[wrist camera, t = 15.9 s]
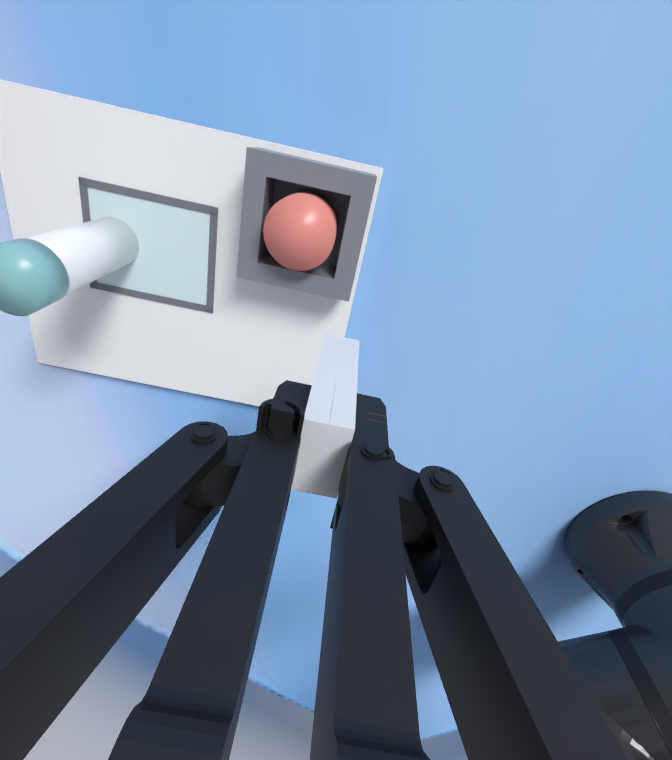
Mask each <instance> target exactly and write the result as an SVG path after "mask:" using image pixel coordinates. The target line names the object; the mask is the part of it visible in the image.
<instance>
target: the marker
mask: <svg viewBox="0 0 672 760" xmlns="http://www.w3.org/2000/svg"><path fill="white" fill-rule="evenodd" d="M138 252H139V243H138V239H137V237H136V235H135V233H134V231H133V230H132V229H131V227H130V226H129V225H128V224H126V223H125V222H124V221H122V220H120V219H118V218H115V217H110V216H108V217H102V218H99V219H95V220H91V221H88V222H84V223H80V224H77V225H73V226H69V227H66V228H62V229H58V230H55V231H51V232H47V233H44V234H40V235H37V236H33V237H29V238H20V239H15V240H11V241H8V242H4V243H0V310H1V311H3V312H5V313H8V314H11V315H16V316H27V315H30V314H33V313H35V312H37V311H39V310H41V309H43V308H45V307H47V306H49V305H51V304H53V303H54V302H56V301H58V300H60V299H62V298H63V297H64V296H65V295H67V294H69V293H71V292H73V291H75V290H77V289H79V288H81V287H83V286H85V285H87V284H89V283H91V282H93V281H95V280H97V279H99V278H101V277H103V276H105V275H107V274H109V273H111V272H113V271H115V270H117V269H119V268H121V267H123V266H125V265H127V264H129V263H131V262H133V261H134V260H135V259H136V257H137V255H138Z"/></svg>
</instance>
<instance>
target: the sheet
mask: <svg viewBox="0 0 672 760" xmlns="http://www.w3.org/2000/svg"><path fill="white" fill-rule="evenodd" d="M247 147H258V148H264V149H268V150H272V151H277V152H281V153H285V154H290V155H294V156H298V157H303V158H307V159H311V160H316V161H320V162H324V163H329V164H333V165H337V166H342V167H346V168H350V169H355V170H359V171H363V172H368V173H372V174H376V176H377V180H376V185H375V189H374V193H373V198H372V202H371V207H370V211H369V215H368V220H367V224H366V229H365V233H364V238H363V242H362V246H361V251H360V255H359V260H358V264H357V268H356V273H355V277H354V282H353V286H352V290H351V295H350V299H349V301H344V300H339V299H335V298H330V297H325V296H321V295H316V294H311V293H307V292H302V291H297V290H293V289H288V288H283V287H279V286H274V285H269V284H265V283H260V282H255V281H251V280H246V279H241V278H237V265H238V252H239V239H240V226H241V213H242V200H243V187H244V174H245V161H246V149H247ZM0 172H1V177H2V183H3V188H4V193H5V198H6V203H7V208H8V213H9V218H10V224H11V229H12V234H13V239H14V240H15V239H20V238H29V237H33V236H37V235H40V234H44V233H47V232H51V231H55V230H58V229H62V228H66V227H69V226H73V225H77V224H80V223H84V222H88V221H91V220H95V219H99V218H102V217H108V216H110V217H115V218H118V219H120V220H122V221H124V222H125V223H126V224H128V225H129V226H130V227H131V229H132V230H133V231H134V233H135V235H136V237H137V239H138V243H139V252H138V255H137V257H136V259H135V260H134V261H133V262H131V263H129V264H127V265H125V266H123V267H121V268H119V269H117V270H115V271H113V272H111V273H109V274H107V275H105V276H103V277H101V278H99V279H97V280H95V281H93V282H91V283H89V284H87V285H85V286H83V287H81V288H79V289H77V290H75V291H73V292H71V293H69V294H67V295H65V296H64V297H63V298H62V299H60V300H58V301H56V302H54V303H53V304H51V305H49V306H47V307H45V308H43V309H41V310H39V311H37V312H35V313H33V314H30V315H28V316H29V321H30V326H31V331H32V336H33V341H34V347H35V352H36V357H37V362H38V363H43V364H48V365H53V366H58V367H63V368H68V369H73V370H78V371H84V372H89V373H94V374H99V375H104V376H109V377H114V378H119V379H124V380H129V381H134V382H139V383H144V384H149V385H154V386H159V387H164V388H169V389H174V390H179V391H184V392H189V393H194V394H199V395H204V396H209V397H214V398H219V399H224V400H229V401H235V402H240V403H245V404H250V405H255V406H260V405H261V403H262V402H264V401H266V400H268V399H273V398H274V395H275V393H276V390H277V388H278V386H279V385H280V384H282V383H283V382H285V381H286V380H288V381H293V382H298V383H303V384H308V385H312V383H313V379H314V375H315V371H316V367H317V363H318V359H319V356H320V352H321V348H322V344H323V340H324V336H325V333H326V334H330V335H335V336H340V337H345V333H346V328H347V324H348V320H349V315H350V311H351V307H352V302H353V298H354V294H355V289H356V285H357V281H358V277H359V272H360V268H361V264H362V259H363V255H364V251H365V246H366V242H367V238H368V233H369V229H370V225H371V220H372V216H373V212H374V207H375V203H376V199H377V194H378V190H379V186H380V181H381V177H382V173H383V168H380V167H376V166H372V165H368V164H363V163H359V162H355V161H350V160H346V159H342V158H337V157H333V156H329V155H324V154H320V153H316V152H311V151H307V150H303V149H299V148H294V147H290V146H286V145H281V144H277V143H273V142H268V141H264V140H260V139H255V138H251V137H247V136H243V135H238V134H234V133H230V132H225V131H221V130H217V129H212V128H208V127H204V126H199V125H195V124H191V123H187V122H182V121H178V120H174V119H169V118H165V117H161V116H156V115H152V114H148V113H143V112H139V111H135V110H131V109H126V108H122V107H118V106H113V105H109V104H105V103H100V102H96V101H92V100H87V99H83V98H79V97H75V96H70V95H66V94H62V93H57V92H53V91H49V90H44V89H40V88H36V87H31V86H27V85H23V84H19V83H14V82H10V81H6V80H1V79H0Z"/></svg>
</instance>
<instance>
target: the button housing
mask: <svg viewBox="0 0 672 760" xmlns="http://www.w3.org/2000/svg"><path fill="white" fill-rule="evenodd" d="M376 180H377V176H376V174H372V173H368V172H363V171H359V170H355V169H350V168H346V167H342V166H337V165H333V164H329V163H324V162H320V161H316V160H311V159H307V158H303V157H298V156H294V155H290V154H285V153H281V152H277V151H272V150H268V149H264V148H258V147H247V149H246V161H245V174H244V187H243V200H242V213H241V226H240V239H239V252H238V265H237V278H241V279H246V280H251V281H255V282H260V283H265V284H269V285H274V286H279V287H283V288H288V289H293V290H297V291H302V292H307V293H311V294H316V295H321V296H325V297H330V298H335V299H339V300H344V301H349V299H350V295H351V290H352V286H353V282H354V277H355V273H356V268H357V264H358V260H359V255H360V251H361V246H362V242H363V238H364V233H365V229H366V224H367V220H368V215H369V211H370V207H371V202H372V198H373V193H374V189H375V185H376ZM300 190H310V191H314V192H317V193H319V194H321V195H323V196H324V197H325V198H326V199H328V201H329V202H330V203H331V204H332V206H333V207H334V209H335V212H336V214H337V218H338V232H337V235H336V239H335V242H334V245H333V248H332V251H331V253H330V255H329V256H328V257H327V259H326V260H325V261H324V262H323V263H322V264H320V265H319V266H317V267H316V268H313V269H310V270H305V271H297V270H292V269H289V268H286V267H284V266H283V265H281V264H280V263H278V262H277V261H276V260H275V259H274V258H273V257H272V255H271V254H270V252H269V251H268V249H267V247H266V244H265V241H264V234H263V227H264V222H265V218H266V216H267V214H268V212H269V210H270V209H271V208H272V206H273V205H274V204H276V203H277V202H278V201H280V200H281V199H283V198H285V197H286V196H288V195H290V194H291V193H294V192H296V191H300Z"/></svg>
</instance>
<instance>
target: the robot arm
mask: <svg viewBox="0 0 672 760" xmlns="http://www.w3.org/2000/svg"><path fill="white" fill-rule="evenodd" d="M358 358H359V340H354V339H350V338H345V337H340V336H335V335H330V334H326V333H325V336H324V340H323V344H322V348H321V352H320V356H319V359H318V363H317V367H316V371H315V375H314V379H313V383H312V385H308V384H303V383H298V382H293V381H288V380H286V381H285V382H283V383H282V384H280V385H279V386H278V388H277V390H276V393H275V395H274V398H273V399H268V400H266V401H264V402H262V403H261V405H260V406H259V411H258V420H257V428H256V431H255V432H253V433H251V434H247V435H240V436H228V434H227V431H226V430H225V429H224V427H222V426H220V425H218V424H216V423H212V422H195V423H191V424H189V425H187V426H185V427H183V428H182V429H181V430H179V431H178V432H177V433H176V434H175V435H173V436H172V437H171V438H170V439H169V440H167V441H166V442H165V443H164V444H162V445H161V446H160V447H159V448H158V449H156V450H155V451H154V452H153V453H151V454H150V455H149V456H148V457H147V458H145V459H144V460H143V461H142V462H140V463H139V464H138V465H137V466H136V467H134V468H133V469H132V470H131V471H130V472H128V473H127V474H126V475H125V476H123V477H122V478H121V479H120V480H119V481H117V482H116V483H115V484H114V485H112V486H111V487H110V488H109V489H108V490H106V491H105V492H104V493H103V494H101V495H100V496H99V497H98V498H97V499H95V500H94V501H93V502H92V503H91V504H89V505H88V506H87V507H86V508H84V509H83V510H82V511H81V512H80V513H78V514H77V515H76V516H75V517H73V518H72V519H71V520H70V521H69V522H67V523H66V524H65V525H64V526H63V527H61V528H60V529H59V530H58V531H56V532H55V533H54V534H53V535H52V536H50V537H49V538H48V539H47V540H45V541H44V542H43V543H42V544H41V545H39V546H38V547H37V548H36V549H34V550H33V551H32V552H31V553H30V554H28V555H27V556H26V557H25V558H24V559H22V560H21V561H20V562H19V563H17V564H16V565H15V566H14V567H13V568H11V569H10V570H9V571H8V572H7V573H5V574H4V575H3V576H2V577H0V760H23V759H24V758H25V757H26V755H27V754H28V753H29V751H30V750H31V749H32V748H33V746H34V745H35V744H36V743H37V741H38V740H39V739H40V737H41V736H42V735H43V734H44V733H45V731H46V730H47V729H48V727H49V726H50V725H51V724H52V722H53V721H54V720H55V719H56V717H57V716H58V715H59V714H60V712H61V711H62V710H63V708H64V707H65V706H66V705H67V703H68V702H69V701H70V700H71V698H72V697H73V696H74V695H75V693H76V692H77V691H78V689H79V688H80V687H81V686H82V684H83V683H84V682H85V681H86V679H87V678H88V677H89V676H90V674H91V673H92V672H93V670H94V669H95V668H96V667H97V665H98V664H99V663H100V662H101V660H102V659H103V658H104V657H105V655H106V654H107V653H108V651H109V650H110V649H111V647H112V646H113V645H114V644H115V643H116V641H117V640H118V639H119V638H120V636H121V635H122V634H123V633H124V631H125V630H126V629H127V628H128V626H129V625H130V624H131V622H132V621H133V620H134V619H135V617H136V616H137V615H138V614H139V612H140V611H141V610H142V609H143V607H144V606H145V605H146V603H147V602H148V601H149V600H150V598H151V597H152V596H153V595H154V593H155V592H156V591H157V590H158V588H159V587H160V586H161V585H162V583H163V582H164V581H165V579H166V578H167V577H168V576H169V574H170V573H171V572H172V571H173V569H174V568H175V567H176V566H177V564H178V563H179V562H180V560H181V559H182V558H183V557H184V555H185V554H186V553H187V552H188V550H189V549H190V548H191V547H192V545H193V544H194V543H195V542H196V540H197V539H198V538H199V536H200V535H201V534H202V533H203V531H204V530H205V529H206V528H207V526H208V525H209V524H210V523H211V521H212V520H213V519H214V517H215V516H216V515H217V514H218V512H219V511H220V509H221V507H222V506H224V508H223V511H222V513H221V516H220V518H219V520H218V523H217V525H216V528H215V530H214V532H213V535H212V537H211V540H210V542H209V544H208V547H207V549H206V552H205V554H204V556H203V559H202V561H201V564H200V566H199V568H198V571H197V573H196V576H195V578H194V580H193V583H192V585H191V588H190V590H189V592H188V595H187V597H186V600H185V602H184V604H183V607H182V609H181V612H180V614H179V617H178V619H177V621H176V624H175V626H174V629H173V631H172V633H171V636H170V638H169V641H168V643H167V645H166V648H165V650H164V653H163V655H162V657H161V660H160V662H159V665H158V667H157V670H156V672H155V674H154V677H153V679H152V681H151V684H150V686H149V689H148V691H147V693H146V695H145V696H144V698H143V700H142V701H141V702H140V703H139V704H138V705H137V706H135V707H134V708H133V710H132V711H131V713H130V715H129V717H128V718H127V719H126V721H125V724H124V726H123V728H122V730H121V732H120V734H119V737H118V738H117V740H116V743H115V745H114V747H113V750H112V752H111V754H110V757H109V759H108V760H229V757H230V752H231V748H232V744H233V739H234V735H235V731H236V726H237V722H238V718H239V713H240V709H241V704H242V701H243V696H244V692H245V687H246V683H247V679H248V675H249V670H250V666H251V662H252V657H253V653H254V649H255V644H256V640H257V636H258V631H259V627H260V623H261V619H262V614H263V610H264V606H265V601H266V597H267V593H268V588H269V584H270V580H271V575H272V571H273V567H274V562H275V558H276V554H277V549H278V545H279V541H280V536H281V532H282V528H283V524H284V519H285V515H286V511H287V506H288V502H289V497H290V491H291V489H292V490H297V491H302V492H307V493H312V494H317V495H322V496H327V497H332V498H337V495H338V500H337V504H336V508H335V511H334V515H333V519H332V523H331V526H330V528H332V529H333V532H332V542H331V552H330V562H329V572H328V582H327V592H326V602H325V612H324V622H323V632H322V642H321V652H320V662H319V672H318V682H317V692H316V702H315V712H314V722H313V732H312V742H311V753H310V760H430V759H429V757H428V756H427V755H426V754H425V752H424V751H423V749H422V745H421V741H420V734H419V723H418V712H417V701H416V689H415V678H414V667H413V655H412V644H411V632H410V621H409V610H408V598H407V587H406V576H407V579H408V582H409V585H410V588H411V591H412V594H413V597H414V600H415V603H416V606H417V609H418V612H419V615H420V618H421V621H422V624H423V627H424V630H425V633H426V636H427V639H428V642H429V645H430V648H431V651H432V653H433V656H434V659H435V662H436V665H437V668H438V671H439V674H440V677H441V680H442V683H443V686H444V689H445V692H446V695H447V698H448V701H449V704H450V707H451V710H452V713H453V716H454V719H455V722H456V725H457V728H458V731H459V734H460V736H461V739H462V742H463V745H464V748H465V751H466V754H467V757H468V760H672V494H670V493H666V492H659V491H637V492H630V493H625V494H621V495H617V496H614V497H611V498H608V499H606V500H603V501H601V502H599V503H597V504H595V505H593V506H591V507H590V508H588V509H587V510H585V511H584V512H583V513H581V514H580V515H579V516H578V517H577V518H576V519H575V520H574V521H573V522H572V524H571V525H570V527H569V528H568V530H567V532H566V535H565V538H564V549H565V552H566V554H567V556H568V558H569V560H570V562H571V564H572V566H573V568H574V569H575V571H576V572H577V573H578V574H579V575H580V577H581V578H582V579H584V580H585V581H586V582H587V583H588V584H589V585H590V587H591V588H592V589H593V590H594V591H595V592H596V593H597V594H598V595H599V596H600V597H601V598H602V599H603V600H604V601H605V602H606V603H607V604H608V605H609V606H610V607H611V608H612V609H613V611H614V612H615V614H616V616H617V617H618V619H619V621H620V623H621V625H622V626H623V628H619V629H615V630H611V631H606V632H601V633H597V634H592V635H587V636H583V637H578V638H573V639H568V640H563V641H559V642H558V641H557V640H556V638H555V636H554V635H553V633H552V631H551V630H550V628H549V626H548V625H547V623H546V621H545V619H544V618H543V616H542V614H541V613H540V611H539V609H538V608H537V606H536V604H535V603H534V601H533V599H532V598H531V596H530V594H529V593H528V591H527V589H526V588H525V586H524V584H523V582H522V581H521V579H520V577H519V576H518V574H517V572H516V571H515V569H514V567H513V566H512V564H511V562H510V561H509V559H508V557H507V556H506V554H505V552H504V551H503V549H502V547H501V546H500V544H499V542H498V540H497V539H496V537H495V535H494V534H493V532H492V530H491V529H490V527H489V525H488V524H487V522H486V520H485V519H484V517H483V515H482V514H481V512H480V510H479V509H478V507H477V505H476V503H475V502H474V500H473V498H472V497H471V495H470V493H469V492H468V490H467V488H466V487H465V485H464V483H463V482H462V481H461V479H460V478H459V477H458V476H457V475H456V474H454V473H453V472H451V471H450V470H447V469H445V468H443V467H438V466H427V467H425V468H423V469H422V470H421V471H420V473H417V472H415V471H413V470H411V469H408V468H406V467H404V466H403V465H401V464H400V463H398V462H397V461H396V460H395V455H394V453H393V451H392V450H391V449H390V447H389V444H388V430H387V417H386V406H385V405H384V403H383V402H382V401H381V399H380V398H376V397H371V396H366V395H362V394H357V378H358ZM338 491H339V493H338ZM405 573H406V576H405Z"/></svg>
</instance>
